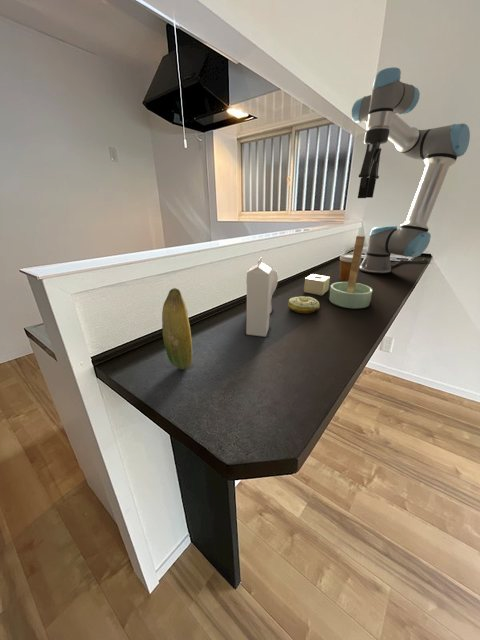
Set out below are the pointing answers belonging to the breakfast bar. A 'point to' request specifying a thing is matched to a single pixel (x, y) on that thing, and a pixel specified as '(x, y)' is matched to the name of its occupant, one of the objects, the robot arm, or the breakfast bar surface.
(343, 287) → the bowl
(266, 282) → the milk
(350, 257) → the disposable coffee cup
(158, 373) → the breakfast bar surface
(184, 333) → the vegetable
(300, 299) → the decorated donut
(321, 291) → the stand
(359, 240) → the stirring stick
